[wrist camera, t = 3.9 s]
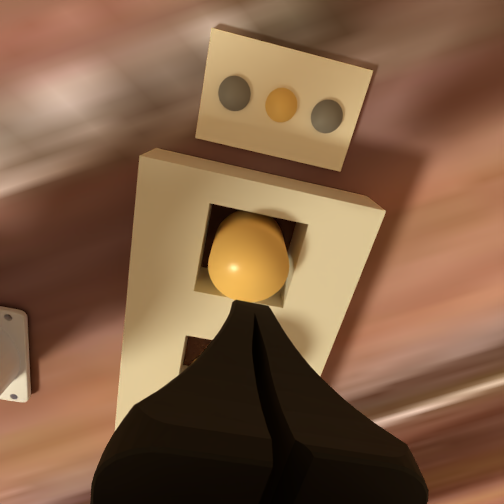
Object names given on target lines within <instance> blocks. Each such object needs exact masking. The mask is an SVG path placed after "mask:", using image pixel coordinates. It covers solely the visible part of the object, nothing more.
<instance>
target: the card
mask: <svg viewBox="0 0 504 504" xmlns="http://www.w3.org/2000/svg"><path fill="white" fill-rule="evenodd" d="M372 73H373V70H369V69H365V68H362V67H358V66H354V65H350V64H347V63H343V62H339V61H335V60H331V59H328V58H324V57H320V56H316V55H313V54H309V53H305V52H301V51H298V50H294V49H290V48H286V47H282V46H279V45H275V44H271V43H267V42H264V41H260V40H256V39H252V38H249V37H245V36H241V35H237V34H233V33H230V32H226V31H222V30H218V29H215V28H212V29H211V36H210V42H209V49H208V56H207V62H206V69H205V75H204V82H203V89H202V95H201V102H200V109H199V115H198V122H197V129H196V135H195V138H198V139H202V140H206V141H211V142H215V143H219V144H224V145H228V146H232V147H237V148H241V149H245V150H249V151H254V152H258V153H262V154H267V155H271V156H275V157H279V158H284V159H288V160H292V161H297V162H301V163H305V164H309V165H314V166H318V167H322V168H327V169H331V170H335V171H339V172H340V171H341V168H342V165H343V162H344V159H345V156H346V153H347V150H348V147H349V144H350V141H351V138H352V135H353V132H354V129H355V125H356V122H357V119H358V116H359V113H360V110H361V107H362V104H363V101H364V98H365V95H366V92H367V89H368V86H369V83H370V80H371V76H372Z"/></svg>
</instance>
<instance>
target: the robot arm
mask: <svg viewBox="0 0 504 504" xmlns="http://www.w3.org/2000/svg"><path fill="white" fill-rule="evenodd" d="M8 314H9V315H11V316H12V317H10V316H9V315H8ZM30 397H31V383H30V362H29V341H28V320H27V315H26V313H25V312H24V311H22V310H19V309H13V308H7V307H2V306H0V399H3V400H10V401H16V402H27V401H28V400H29V398H30ZM428 491H429V490H428V488H427V485H426V483H425V480H424V478H423V476H422V474H421V472H420V469H419V467H418V465H417V463H416V461H415V459H414V457H413V455H412V453H411V451H410V449H409V447H408V446H407V444H405V443H404V442H402V441H401V440H399V439H398V438H396V437H395V436H393V435H392V434H390V433H389V432H387V431H386V430H384V429H383V428H381V427H380V426H378V425H376V424H375V423H374V422H372V421H371V420H370V419H368V418H367V417H366V416H364V415H363V414H362V413H360V412H359V411H358V410H356V409H355V408H354V407H353V406H352V405H350V404H349V403H348V402H347V401H346V400H344V399H343V398H342V397H341V396H340V395H339V394H338V393H337V392H335V391H334V390H333V389H332V388H331V387H330V386H329V385H328V384H327V383H326V382H325V381H324V380H323V379H322V378H321V377H320V376H319V375H318V374H317V373H316V372H315V371H314V369H313V368H312V367H311V366H310V365H309V364H308V363H307V362H306V360H305V359H304V358H303V357H302V355H301V354H300V353H299V351H298V350H297V349H296V348H295V346H294V345H293V343H292V342H291V340H290V339H289V337H288V336H287V335H286V333H285V331H284V330H283V328H282V327H281V325H280V323H279V322H278V320H277V318H276V317H275V315H274V313H273V312H272V310H271V308H270V307H269V306H268V305H262V304H257V303H252V302H246V301H241V300H234V301H233V302H232V305H231V309H230V313H229V315H228V317H227V319H226V321H225V322H224V324H223V326H222V327H221V329H220V331H219V332H218V333H217V335H216V336H215V338H214V339H213V340H212V342H211V343H210V344H209V345H208V347H207V348H206V349H205V350H204V351H203V352H202V353H201V355H200V356H199V357H198V358H197V359H196V360H195V361H194V362H193V363H192V364H190V365H189V366H188V367H187V368H186V369H185V370H184V371H183V372H182V373H180V374H179V375H178V376H177V377H175V378H174V379H173V380H171V381H170V382H169V383H167V384H166V385H165V386H163V387H162V388H161V389H159V390H158V391H156V392H155V393H153V394H151V395H150V396H148V397H146V398H145V399H143V400H141V401H140V402H138V403H136V404H135V405H133V407H132V408H131V409H130V411H129V412H128V413H127V415H126V416H125V417H124V419H123V420H122V422H121V423H120V425H119V426H118V428H117V429H116V431H115V432H114V434H113V435H112V437H111V439H110V441H109V442H108V444H107V446H106V448H105V450H104V452H103V454H102V457H101V459H100V461H99V464H98V466H97V469H96V471H95V474H94V477H93V481H92V486H91V503H90V504H427V502H428Z"/></svg>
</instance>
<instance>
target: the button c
mask: <svg viewBox="0 0 504 504" xmlns="http://www.w3.org/2000/svg"><path fill="white" fill-rule="evenodd" d="M208 271H209V275H210V278H211V280H212V282H213V284H214V285H215V287H216V288H217V289H218V290H219V291H220V292H221V293H222V294H224V295H225V296H227V297H229V298H230V299H233V300H241V301H246V302H258V301H262V300H265V299H267V298H269V297H271V296H272V295H274V294H275V293H277V292H278V291H279V290H280V289H281V288H282V286H283V285H284V283H285V281H286V279H287V277H288V273H289V258H288V254H287V250H286V246H285V242H284V238H283V234H282V231H281V229H280V227H279V225H278V224H277V222H276V221H275V220H274V219H273V218H272V217H271V216H267V215H262V214H258V213H253V212H248V211H244V210H240V211H236V212H234V213H232V214H230V215H229V216H227V217H226V218H225V219H224V220H223V221H222V222H221V223H220V225H219V226H218V228H217V231H216V234H215V238H214V241H213V245H212V249H211V253H210V256H209V261H208Z"/></svg>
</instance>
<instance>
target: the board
mask: <svg viewBox="0 0 504 504" xmlns="http://www.w3.org/2000/svg"><path fill="white" fill-rule="evenodd" d="M213 204H216V205H221V206H225V207H230V208H234V209H239V210H244V211H248V212H253V213H258V214H262V215H267V216H271V217H276V218H281V219H285V220H290V221H295V222H296V225H295V228H294V232H293V235H292V239H291V242H290V245H289V249H288V252H287V254H288V258H289V273H288V277H287V279H286V281H285V283H284V285H283V286H282V288H281V289H280V290H279V291H278V292H277V293H275V294H274V295H272V296H271V297H269V298H267V299H265V300H262V301H258V302H252V303H257V304H262V305H268V306H269V307H270V308H271V310H272V312H273V313H274V315H275V317H276V318H277V320H278V322H279V323H280V325H281V327H282V328H283V330H284V331H285V333H286V335H287V336H288V337H289V339H290V340H291V342H292V343H293V345H294V346H295V348H296V349H297V350H298V351H299V353H300V354H301V355H302V357H303V358H304V359H305V360H306V362H307V363H308V364H309V365H310V366H311V367H312V368H313V369H314V371H315V372H316V373H317V374H318V375H319V376H321V374H322V371H323V369H324V366H325V364H326V361H327V358H328V356H329V353H330V351H331V348H332V346H333V343H334V341H335V338H336V336H337V333H338V331H339V328H340V326H341V323H342V321H343V318H344V316H345V313H346V311H347V308H348V306H349V303H350V301H351V298H352V296H353V293H354V291H355V288H356V286H357V283H358V281H359V278H360V276H361V273H362V271H363V268H364V266H365V263H366V261H367V258H368V256H369V253H370V251H371V248H372V245H373V243H374V240H375V238H376V235H377V233H378V230H379V228H380V225H381V223H382V220H383V218H384V215H385V213H386V210H384V209H383V208H382V207H380V206H379V205H378V204H377V203H375V202H374V201H373V200H371V199H370V198H369V197H368V196H365V195H361V194H357V193H352V192H348V191H343V190H339V189H335V188H330V187H326V186H321V185H317V184H313V183H308V182H304V181H300V180H295V179H291V178H286V177H282V176H278V175H273V174H269V173H264V172H260V171H256V170H251V169H247V168H242V167H238V166H234V165H229V164H225V163H221V162H216V161H212V160H207V159H203V158H199V157H194V156H190V155H185V154H181V153H177V152H172V151H168V150H164V149H159V148H155V149H153V150H150V151H148V152H146V153H144V154H142V155H139V166H138V177H137V188H136V199H135V211H134V222H133V233H132V244H131V255H130V266H129V277H128V288H127V299H126V311H125V322H124V333H123V344H122V355H121V366H120V377H119V388H118V400H117V411H116V422H115V431H116V429H117V428H118V426H119V425H120V423H121V422H122V420H123V419H124V417H125V416H126V415H127V413H128V412H129V411H130V409H131V408H132V407H133V405H135V404H136V403H138V402H140V401H141V400H143V399H145V398H146V397H148V396H150V395H151V394H153V393H155V392H156V391H158V390H159V389H161V388H162V387H163V386H165V385H166V384H167V383H169V382H170V381H171V380H173V379H174V378H175V377H177V376H178V375H179V374H180V373H182V372H183V371H184V370H185V369H186V368H187V367H188V366H187V365H183V362H184V357H185V351H186V346H187V340H188V336H192V337H198V338H204V339H209V340H213V339H214V338H215V336H216V335H217V333H218V332H219V331H220V329H221V327H222V326H223V324H224V322H225V321H226V319H227V317H228V315H229V313H230V309H231V305H232V302H233V301H234V300H233V299H230V298H229V297H227V296H225V295H224V294H222V293H221V292H220V291H219V290H218V289H217V288H216V287H215V285H214V284H213V282H212V280H211V278H210V275H209V271H208V268H205V267H201V264H202V259H203V253H204V248H205V243H206V237H207V232H208V226H209V221H210V215H211V210H212V205H213Z"/></svg>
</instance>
